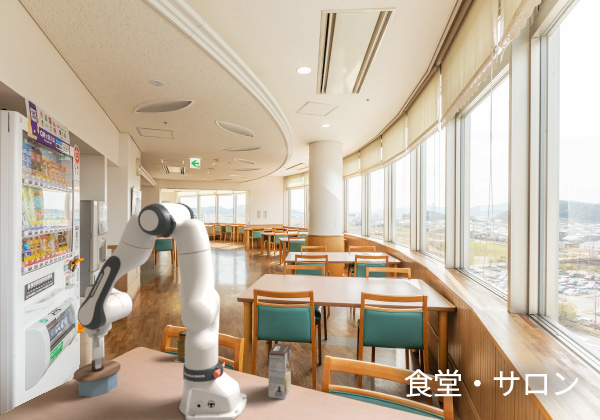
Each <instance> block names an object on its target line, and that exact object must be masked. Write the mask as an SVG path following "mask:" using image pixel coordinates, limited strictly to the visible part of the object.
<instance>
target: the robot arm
mask: <svg viewBox="0 0 600 420" xmlns="http://www.w3.org/2000/svg"><path fill="white" fill-rule="evenodd" d="M157 237H160V238H164V239H168V238H169V237H171V238H172V239H173V240H174V242H175V245H176V246H175V247H176V252H177V254H176V255H177V260H178V269H179V276H180V278H179V279H180V308H181V309H180V319H181V323H182V325H183V326H184V328H186V330H187V331H186V338H185V362H183V363H184V364H183V370H182V371H183V372H182V373H183V375H182V376H183V389H182V396H181V398H180V399H181V400H180V403H179V411H180V412H181V413H182V414H183V415H184V418H185V420H234V419H236V418H237V417H239V416H240V415H241V414H242V412H244V409H245V408H246V406H247V402H248V399H247V398H248V397H247V395H246V393H243V392H241V388H240V384H239V382H238V381H237V380H235V379H234V378H233V377H231V376H230V375H229V374H227V373H226V372H225V371H224V367H225V364H226V362H225V361H224V362H223V363H221V362H220V360H219V332H220V312H221V298H220V294H219V293H218V291H217V290H216V288H215V277H214V276H215V275H214V274H215V272H214V271H215V270H214V262H213V255H212V249H211V243H210V237H209V234H208V231H207V228H206V225H205V223H204V222H203V221H202V220H200V219H196V218H195V214H194V211H193V209H192V208H191V207H190V206H188V205H187V204H185V203H182V202H166V201H165V202H158V203H151V204H148V205H146V206H144V207H143V208H142V209H141V210H140V211H138V212H137V211H136V212H134V213H133V214H131V216H130V218H129V220H128V221H127V223H126V225H125V227H124V229H123V231H122V234H121V236H120V240H119V242H118V245H117V246H116V248H115V249H114V251H113V252H112V254H111V255H110V256H109V257H108V258H107V259H106V260H105V262H104V263H103V265H102V267H101V268H100V270H99V272H98V275H97V276H96V278H95V281H94V282H93V283H92V284H89V285H88V286H87V287H86V289H85V293H84V300H83V302H82V303H81V305H80V307H79V308H78V312H77V320H78V321H77V322H79V324H80V325H81V326H82V327H83V332H84V334H86V335H87V337H88V338H91V358H92V360H95V368H96V369H98V368H101V360H102V359H103V358H104V359H105V336H106V335H108V333H109V331H110V330H111V329H112V327H113V325H112V323H113V322H116V321H119V320H121V319H123V318H126V317H128V316H130V314H132V312H133V309H134V300H133V297H132V295H130V294H129V293H128V292H126V291H121V290H119V289H117V288H115V284H116V283H117V281H118V280H119V279H120V278H122V277H123V276H125V275H126V274H128V273H129V272H131V271H133V270H135V269H137V268H139V267H141V266H142V265H143V264H145V263H146V262H147V261H148V259H149V258H150V257H151V255H152V253H153V249H154V247H155V244H156V240H157ZM92 360H91V361H92Z"/></svg>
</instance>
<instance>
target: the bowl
mask: <svg viewBox="0 0 600 420" xmlns="http://www.w3.org/2000/svg"><path fill="white" fill-rule="evenodd" d="M117 386H118V372H117V373H116V374H114V375H112V376H110V377H108V378H105V379H102V380H98V381H92V382H79V381H77V391H78V396H79V397H86V398H87V397H88V398H92V397H96V396H100V395H103V394H107V393H109V392H110V391H112V390H113V389H114V388H116V387H117Z"/></svg>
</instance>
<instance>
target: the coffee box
mask: <svg viewBox="0 0 600 420" xmlns="http://www.w3.org/2000/svg"><path fill="white" fill-rule="evenodd" d="M291 351H292V344H287V343H275V344H273V346H272V348H271V349H270V350H269V352H268V387H267V389H268V398H272V399H280V400H286V399H287V398H286V397H287V395H288V394H289V391H290V389H291V387H292V374H291V373H292V366H291V365H292V357H291V356H292V352H291Z"/></svg>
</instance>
